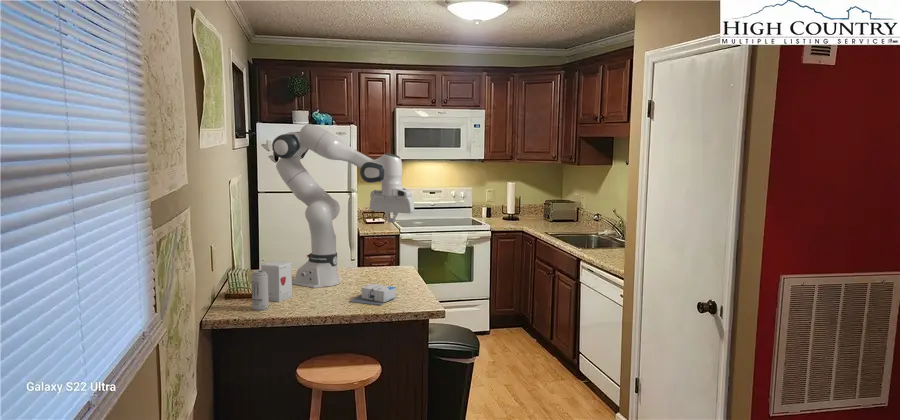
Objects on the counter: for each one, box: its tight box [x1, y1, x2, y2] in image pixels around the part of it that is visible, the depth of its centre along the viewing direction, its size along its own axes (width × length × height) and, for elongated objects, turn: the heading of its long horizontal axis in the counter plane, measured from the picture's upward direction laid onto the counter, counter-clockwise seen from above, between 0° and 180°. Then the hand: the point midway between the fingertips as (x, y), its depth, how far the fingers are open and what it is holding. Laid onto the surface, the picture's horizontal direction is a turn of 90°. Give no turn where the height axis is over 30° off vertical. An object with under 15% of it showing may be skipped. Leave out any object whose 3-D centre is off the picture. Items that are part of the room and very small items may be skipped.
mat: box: [348, 293, 388, 307], centre depth 238 cm, size 14×13×1 cm
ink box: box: [361, 283, 397, 303], centre depth 239 cm, size 9×5×12 cm
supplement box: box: [260, 260, 293, 303], centre depth 238 cm, size 9×9×15 cm
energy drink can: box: [251, 269, 270, 312], centre depth 223 cm, size 6×6×15 cm
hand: (391, 222), depth 253 cm, fingers closed
